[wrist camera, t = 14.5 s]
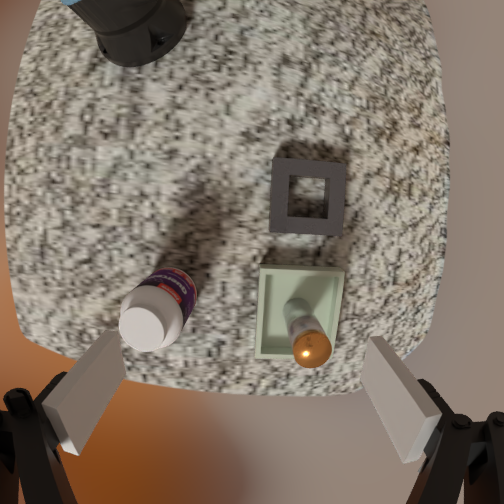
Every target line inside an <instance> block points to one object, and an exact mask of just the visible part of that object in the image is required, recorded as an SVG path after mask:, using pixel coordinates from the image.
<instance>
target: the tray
mask: <svg viewBox="0 0 504 504" xmlns="http://www.w3.org/2000/svg"><path fill="white" fill-rule="evenodd" d="M344 276H345V271H343V270H342V269H341V268H340V267H325V266H301V265H279V264H260V266H259V284H258V301H257V318H256V335H255V358H259V359H295V358H294V355H293V351H292V347H291V344H290V340H289V336H288V333H287V329H286V325H285V322H284V318H283V314H282V310H283V307H284V305H285V304H286V302H287V301H289V300H290V299H293V298H302V299H305V300H306V301H307V302H308V303H309V304H310V306H311V308H312V310H313V312H314V313H315V315H316V317H317V319H318V321H319V322H320V324H321V326H322V328H323V330H324V331H325V333H326V335H327V337H328V339H329V341H330V342H331V345H332V353H331V356H330V358H329V359H332V356H333V351H334V345H335V339H336V333H337V327H338V320H339V314H340V307H341V300H342V292H343V285H344Z"/></svg>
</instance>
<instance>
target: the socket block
mask: <svg viewBox="0 0 504 504" xmlns="http://www.w3.org/2000/svg"><path fill="white" fill-rule="evenodd" d="M289 176H293V177H305V178H317V179H325V192H324V209H323V218H321V217H306V216H290V215H287V211H288V194H289ZM345 184H346V164H343V163H334V162H325V161H315V160H304V159H292V158H278V157H273V159H272V173H271V193H270V212H269V232H277V233H296V234H313V235H330V236H342V229H343V216H344V201H345Z"/></svg>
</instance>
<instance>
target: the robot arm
mask: <svg viewBox="0 0 504 504" xmlns="http://www.w3.org/2000/svg"><path fill="white" fill-rule="evenodd" d="M61 2H62V3H63V4H65V5H67V6H68V7H69V8H70V9H72V10H73V11H74V12H75V13H76V14H77V15H78V16H79V17H80V18H81V19H82V20H83V21H84V22H85V23H87V24H88V25H89V26H90V27H91V28H92V29H93V30H94V31H95V35H96V39H97V43H98V46H99V49H100V51H101V52H102V54H103V55H104V56H105V57H106V58H107V59H108V60H109V61H111V62H112V63H114V64H116V65H118V66H123V67H136V66H141V65H145V64H148V63H151V62H153V61H155V60H157V59H159V58H161V57H162V56H164V55H165V54H166V53H168V52H169V51H170V50H171V49H172V48H173V47H174V46H175V45H176V44H177V43H178V42H179V40H180V39H181V37H182V36H183V34H184V31H185V29H186V24H187V17H186V13H185V10H184V8H183V5H182V4H181V2H180V1H179V0H61ZM125 375H126V371H125V366H124V361H123V356H122V351H121V345H120V340H119V334H118V331H110V330H105V331H104V332H103V333H102V335H101V336H100V337H99V338H98V339H97V340H96V341H95V342H94V343H93V345H92V346H91V347H90V348H89V349H88V350H87V351H86V352H85V353H84V355H83V356H82V357H81V358H80V359H79V360H78V361H77V363H76V364H75V365H74V366H73V367H72V368H71V369H70V371H69V372H61V373H60V374H58V375H56V376H55V377H54V378H53V379H52V380H51V382H50V384H48V385H47V386H46V387H45V388H44V389H43V390H42V392H41V393H40V394H39V395H38V396H37V397H36V398H35V400H34V401H33V400H32V397H31V395H30V393H29V391H28V390H26V389H23V388H15V389H12V390H10V391H8V392H7V393H6V394H5V395H4V398H3V400H4V403H5V405H6V407H7V409H8V411H1V410H0V504H18V491H19V477H20V482H21V487H22V491H23V495H24V499H25V502H26V504H78V503H77V501H76V499H75V496H74V494H73V491H72V489H71V486H70V484H69V481H68V478H67V476H66V473H65V470H64V467H63V465H62V461H61V458H60V455H59V452H58V451H57V449H56V447H57V445H58V444H59V442H60V444H61V445H62V447H63V449H64V451H66V452H69V453H72V454H75V455H78V456H79V455H80V453H81V451H82V449H83V447H84V446H85V444H86V442H87V440H88V438H89V437H90V435H91V433H92V431H93V430H94V428H95V426H96V424H97V423H98V421H99V419H100V417H101V416H102V414H103V412H104V410H105V409H106V407H107V405H108V404H109V402H110V400H111V398H112V397H113V395H114V393H115V392H116V390H117V388H118V387H119V385H120V383H121V382H122V380H123V378H124V377H125ZM360 380H361V382H362V384H363V386H364V388H365V390H366V392H367V394H368V395H369V397H370V399H371V401H372V403H373V405H374V407H375V409H376V411H377V413H378V415H379V417H380V419H381V421H382V423H383V425H384V427H385V429H386V431H387V433H388V435H389V437H390V438H391V441H392V443H393V445H394V447H395V449H396V451H397V452H398V455H399V457H400V459H401V461H402V463H403V464H405V463H408V462H412V461H416V460H418V459H419V458H420V456H421V454H422V452H423V451H424V452H425V454H426V456H427V457H426V459H425V461H424V462H423V464H422V466H421V467H420V469H419V470H418V472H420V473H419V475H418V478H417V480H416V483H415V485H414V487H413V489H412V492H411V494H410V496H409V498H408V500H407V502H406V504H456V503H457V500H458V497H459V493H460V490H461V486H462V483H463V479H464V504H504V413H503V412H498V411H496V412H493V413H491V414H490V415H489V416H488V418H487V420H486V421H484V422H483V421H482V422H472V420H471V419H470V418H469V417H468V416H466V415H463V414H454V412H453V411H452V410H451V408H450V407H449V406H448V404H447V403H446V402H445V401H444V399H443V398H442V397H440V394H439V393H438V392H436V389H435V388H434V387H433V386H432V385H431V384H430V383H429V382H427V381H426V380H424V379H419V380H416V378H415V377H414V376H413V374H412V373H411V372H410V371H409V369H408V368H407V367H406V365H405V364H404V363H403V362H402V360H401V359H400V358H399V357H398V355H397V354H396V353H395V352H394V350H393V349H392V348H391V347H390V345H389V344H388V343H387V342H386V340H385V339H384V338H383V337H382V336H374V337H369V339H368V344H367V349H366V354H365V359H364V363H363V368H362V372H361V376H360Z"/></svg>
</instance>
